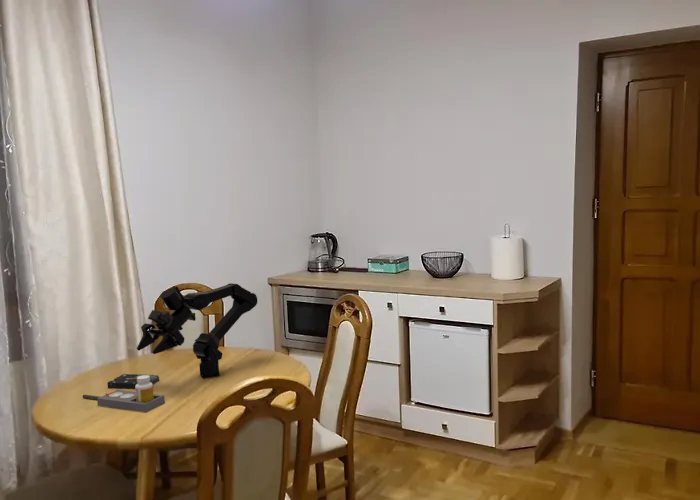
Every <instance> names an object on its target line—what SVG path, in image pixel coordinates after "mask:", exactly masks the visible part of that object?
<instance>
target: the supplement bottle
mask: <svg viewBox="0 0 700 500" xmlns="http://www.w3.org/2000/svg"><path fill="white" fill-rule="evenodd" d="M142 375H143V376H139V377H137V382H138V384H136V386H135V389H134V390H135V391H134V392H136V402H141V403H147V402H149V401H151V400H154V395H153V394H154V386H153V385H154V384H152V383H151V382H149V381H150V376H148V375H149V374H142Z"/></svg>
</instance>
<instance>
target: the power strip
mask: <svg viewBox="0 0 700 500" xmlns="http://www.w3.org/2000/svg"><path fill="white" fill-rule="evenodd" d="M153 395H154V400H151V401H149V402H147V403H141V402H136V391H130V390H125V389H116V390H110V391H108V392H106V393H105V394H104V395H102V396H98V395H91V394H83V395H82V398H83V399H87V400H95V401H97V406H99V407H104V408H110V409H111V408H112V409H117V410H118V409H119V410H127V411H133V412H134V411H135V412H142V413H147V412H149V411H151V410H153V409H156V408H158V407H160V406H161V405H164V404H165V401H166V399H165V395H163V394H155V393H153Z"/></svg>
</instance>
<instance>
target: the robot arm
mask: <svg viewBox="0 0 700 500" xmlns="http://www.w3.org/2000/svg"><path fill="white" fill-rule="evenodd" d="M228 297H230V298H231V299H232V300H233V301H232V306H231V307H230V309H229V310H228V311H227V312H226V313H225V314H224V315H223V317H222V318H221V319H220V320H219V321H218V323H217V324H215V326H214V327H213V328H212V329H211V330H210V332H208V333H205V332H201V333H200V334H199V336H198V337H197V338H195V339H194V343H193V344H192V352H193V353H194V355H195V356H196V359H198V360H200V362H199V364H198V365H199V366H198V367H199V375H200V377H201V378H202V379H208V378H216V377H220V376H221V373H220V367H219V366H220V365H219V362H220V361H219V360H222V358H223V352H221V351H220V350H219V347H220V342H221V340H222V339H223V338H224V337H225V335H226V334H227V333H228V332H229V331H230V330H231V329H232V327H234V324H236V322H237V321H239V319H240V318H241V316H243V315H244V314H246V313H248V312H250V311H252V310H253V309H254V308H255V307H256V306H257V304H258V296H257V294H256V293H254V292H252V291H249V290H247V289H246V288H244V287H242V286H241V285H239V284H238V283H232V282H231V283H227V284H226V285H223V286H220V287H217V288H213V289H211V290H208V291H202V292H189V293H186V295H184V296H183V294H182V293H181V291H180V288H179V286H178V285H177V286H176V285H175V286H174V285H173V286H172V287H170V288H168V289H166V290H164V291H161V293H160V295H159V298H160V299H161V300H162V302H163V303H164V304H165V307H166V308H167V309H168V310H169V311H172V313H171V312H169V311H168V310H167V311H166V310H164V311H160V310H155V309H152V310H151V312H150V314H149V315H148V317H147V319H148V320H151V321H152V322H154V324H155V325H154V324H152V323H147V322H146V323H144V324H142V325H141V326H140V328H141V332H142V336H141V339H140V340H139V342H138V345H137V347H136V351H138V352H139V351H141V350H143V349H145V348H147V347H148V346H150V345H152V344H154V343H155V342H156V341H157V340H158V339H159V338H160V337H162V339H161V340H160V342H159V343H158V344H157V345H156V347H155V348H154V349H153V350H152V353H153V355H157V354H160V353H161V352H165V351H167V350H169V349H172V348H176V347H178V346H182V345H183V344H184V343H185V339H186V338H185V337H184V335H183V334H182V333H181V331H182V330H183V326H184V324H185V323H187V322H188V321H194V322H195V321H196V320H197V318H196V313H195V312H193V310H194V311H202V310H204V309H206V308H207V307H208V306H209V305H210V304H212V303H213V302H216V301H219V300H223V299H225V298H228Z"/></svg>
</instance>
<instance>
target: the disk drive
mask: <svg viewBox="0 0 700 500" xmlns="http://www.w3.org/2000/svg"><path fill="white" fill-rule="evenodd" d="M143 375H144V374H137V373H136V374H132V373H131V374H130V373H129V374H127V373H123V374H121V375H119V376H117V377H115V378H114V379H113V380H110V381H107V389H112V390H114V389H116V390H135V386H136V384H138V382H137V377H139V376H143ZM147 375H148V376H150V381H149V382H151V383H152V384H153V385H155V384H156V383H158V382H159V381H160V376H159V374H158V375H157V374H147Z"/></svg>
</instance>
